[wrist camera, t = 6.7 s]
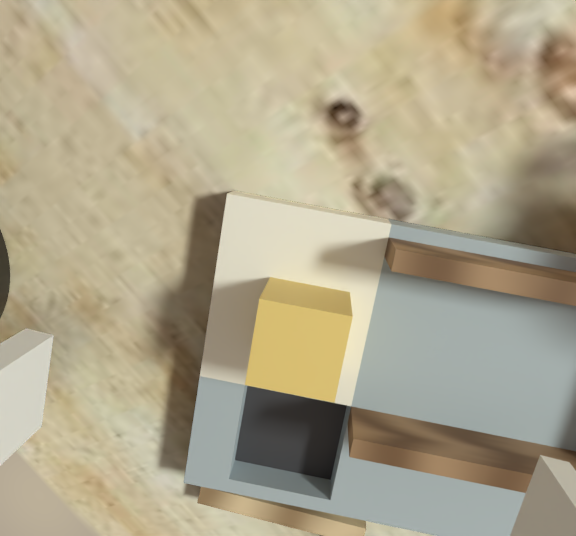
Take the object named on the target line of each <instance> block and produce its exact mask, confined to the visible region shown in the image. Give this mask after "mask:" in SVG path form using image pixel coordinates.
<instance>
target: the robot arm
mask: <svg viewBox="0 0 576 536" xmlns="http://www.w3.org/2000/svg"><path fill="white" fill-rule="evenodd" d="M9 284H10V267H9V259H8V253H7V249H6V245H5V241H4V239H3V236H2V233H1V231H0V317H1V315H2V313H3V311H4V308H5V305H6V301H7V297H8V292H9ZM53 337H54V335H51V334H47V333H43V332H39V331H35V330H31V329H27V328H26V329H24V330H22V331H21V332H19V333H17V334H15V335H14V336H12V337H10V338H9V339H7V340H5V341H3V342H2V343H0V465H2V464H3V463H4V461H6V460H7V459H8V458H9V457H10V456H11V455H12V454H13V453H14V452H15V451H16V450H17V449H18V448H19V447H21V446H22V445H23V444H24V443H25V442H26V441H27V440H28V439H29V438H30V437H31V436H32V435H33V434H34V433H35V432H36V431H37V430H38V429H40V428H41V427H42V420H43V412H44V405H45V397H46V390H47V382H48V375H49V367H50V359H51V352H52V344H53ZM510 536H576V470H575V469H574V468H573V466H572V465H571V464H570V462H567V461H562V460H558V459H554V458H550V457H546V456H542V455H540V457H539V459H538V462H537V465H536V467H535V470H534V473H533V475H532V478H531V481H530V483H529V486H528V489H527V492H526V494H525V497H524V500H523V502H522V505H521V508H520V510H519V513H518V516H517V518H516V521H515V524H514V526H513V529H512V532H511V534H510Z"/></svg>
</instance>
